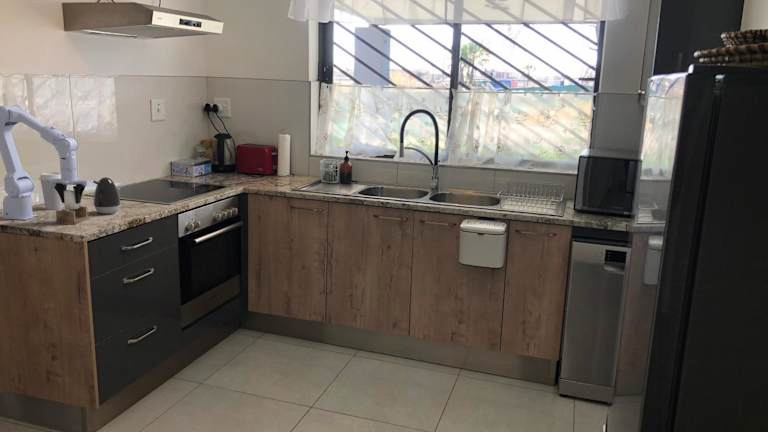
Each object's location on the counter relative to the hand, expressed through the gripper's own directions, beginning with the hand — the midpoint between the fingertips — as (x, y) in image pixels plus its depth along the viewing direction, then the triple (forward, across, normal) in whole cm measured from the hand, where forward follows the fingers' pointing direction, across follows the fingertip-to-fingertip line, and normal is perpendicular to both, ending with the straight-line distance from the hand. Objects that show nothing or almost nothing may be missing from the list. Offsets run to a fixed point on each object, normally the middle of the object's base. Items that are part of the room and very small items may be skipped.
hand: (71, 202), depth 236 cm
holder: (+7, 0, 0) cm, 7 cm away
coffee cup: (+8, -19, +20) cm, 29 cm away
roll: (+2, 0, 0) cm, 2 cm away
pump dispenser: (+8, +6, +16) cm, 19 cm away
